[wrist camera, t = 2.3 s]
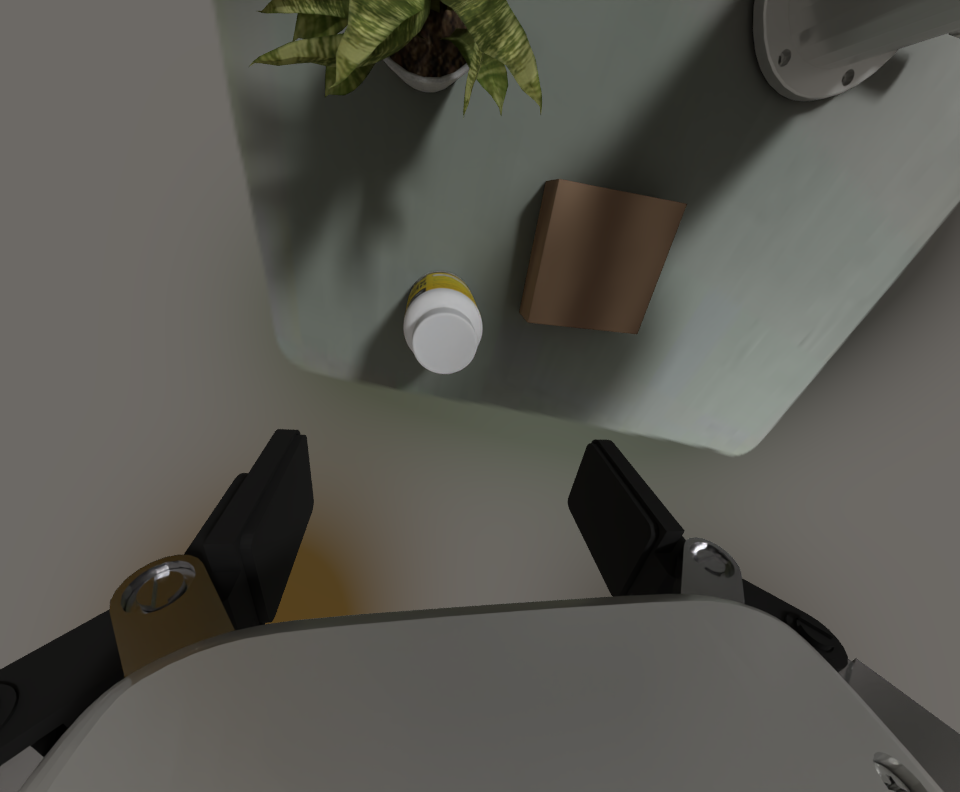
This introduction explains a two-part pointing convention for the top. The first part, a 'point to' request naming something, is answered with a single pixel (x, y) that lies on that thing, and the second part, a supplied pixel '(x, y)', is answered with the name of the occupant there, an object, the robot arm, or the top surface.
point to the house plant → (410, 43)
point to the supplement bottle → (442, 323)
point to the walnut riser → (597, 256)
